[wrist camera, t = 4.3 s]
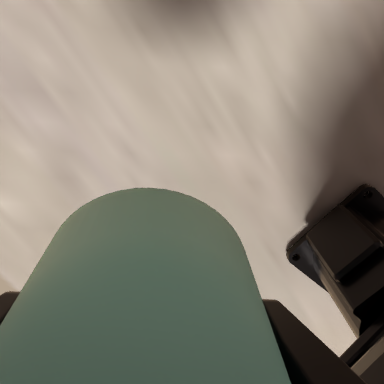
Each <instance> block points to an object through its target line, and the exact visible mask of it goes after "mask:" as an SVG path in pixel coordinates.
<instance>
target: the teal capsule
mask: <svg viewBox="0 0 384 384" xmlns="http://www.w3.org/2000/svg"><path fill="white" fill-rule="evenodd" d="M0 384H291V382H290V379H289V376H288V373H287V370H286V367H285V365H284V362H283V359H282V356H281V353H280V350H279V347H278V344H277V342H276V339H275V336H274V333H273V330H272V327H271V324H270V321H269V319H268V316H267V313H266V310H265V307H264V304H263V301H262V298H261V296H260V293H259V290H258V287H257V284H256V281H255V278H254V275H253V273H252V270H251V267H250V264H249V261H248V258H247V255H246V252H245V250H244V247H243V245H242V242H241V240H240V238H239V236H238V235H237V233H236V231H235V230H234V228H233V227H232V226H231V225H230V224H229V222H228V221H227V220H226V219H225V218H224V217H223V216H222V215H221V214H219V213H218V212H217V211H216V210H215V209H213V208H212V207H210V206H208V205H207V204H205V203H204V202H202V201H200V200H198V199H196V198H194V197H191V196H188V195H185V194H182V193H179V192H175V191H171V190H166V189H157V188H133V189H127V190H120V191H116V192H113V193H109V194H106V195H103V196H101V197H99V198H96V199H94V200H92V201H90V202H89V203H87V204H85V205H84V206H82V207H80V208H79V209H78V210H77V211H75V212H74V213H73V214H72V215H70V216H69V218H68V219H67V220H66V221H65V222H64V223H63V224H62V225H61V227H60V228H59V230H58V231H57V233H56V234H55V236H54V237H53V239H52V241H51V242H50V244H49V246H48V247H47V249H46V251H45V252H44V254H43V256H42V257H41V259H40V261H39V262H38V264H37V265H36V267H35V269H34V270H33V272H32V274H31V275H30V277H29V279H28V280H27V282H26V284H25V285H24V287H23V289H22V290H21V292H20V294H19V295H18V297H17V299H16V300H15V302H14V304H13V305H12V307H11V308H10V310H9V312H8V313H7V315H6V317H5V318H4V320H3V322H2V323H1V325H0Z"/></svg>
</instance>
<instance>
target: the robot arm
mask: <svg viewBox="0 0 384 384" xmlns="http://www.w3.org/2000/svg"><path fill="white" fill-rule="evenodd" d="M367 191H369V193H368V194H367V195H366V196H364V194H365V192H367ZM295 254H298V255H297V256H296V257H293V255H295ZM286 256H287V258H288V260H289V262H290V263H291V264H293V265H294V266H295V267H296V268H298V269H299V270H300V271H301V272H303V273H304V274H305V275H307V276H308V277H309V278H310V279H312V280H313V281H314V282H316V283H317V284H318V285H319V286H321V287H322V288H323V289H324V290H326V291H327V292H328V293H329V294H330V295H331V297H332V299H333V300H334V302H335V304H336V305H337V307H338V308H339V310H340V312H341V313H342V315H343V316H344V318H345V320H346V321H347V323H348V325H349V326H350V328H351V329H352V331H353V333H354V334H355V336H356V337H357V340H356V341H355V342H354V343H353V344H352V345H351V346H350V347H349V348H348V349H347V350H346V351H345V352H344V353H343V354H342V355H341V356H340V357H338V356H337V355H336V354H335V353H334V352H333V351H332V350H330V349H329V348H328V347H327V346H326V345H325V344H324V343H323V342H322V341H321V340H320V339H319V338H318V337H317V336H315V335H314V334H313V333H312V332H311V331H310V330H309V329H308V328H307V327H306V326H305V325H304V324H303V323H302V322H300V321H299V320H298V319H297V318H296V317H295V316H294V315H293V314H292V313H291V312H290V311H289V310H288V309H287V308H286V307H284V306H283V305H282V304H281V303H280V302H279V301H277V300H269V299H262V301H263V304H264V307H265V310H266V313H267V316H268V319H269V321H270V324H271V327H272V330H273V333H274V336H275V339H276V342H277V344H278V347H279V350H280V353H281V356H282V359H283V362H284V365H285V367H286V370H287V373H288V376H289V379H290V382H291V384H384V197H383V196H382V195H381V194H380V193H379V192H378V191H377V190H376V189H375V188H374V187H372V186H371V185H369V184H364V185H362V186H360V187H359V188H358V189H356V190H355V191H354V192H353V193H352V194H351V195H350V196H349V197H347V198H346V199H345V200H344V201H343V202H342V203H341V204H340V205H338V206H337V207H336V208H335V209H333V210H332V211H331V212H330V213H329V214H328V215H327V216H326V217H324V218H323V219H322V220H321V221H320V222H319V223H318V224H317V225H315V226H314V227H313V228H312V229H311V230H310V231H309V232H308V233H307V234H306V235H305V236H303V237H302V238H301V239H300V240H299V241H298V242H297V243H296V244H294V245H293V246H292V247H291V248H290V249H289V250H288V251H287V253H286ZM19 294H20V292H13V291H9V292H5V293H4V294H2V295H0V325H1V323H2V322H3V320H4V318H5V317H6V315H7V313H8V312H9V310H10V308H11V307H12V305H13V304H14V302H15V300H16V299H17V297H18V295H19Z"/></svg>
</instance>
